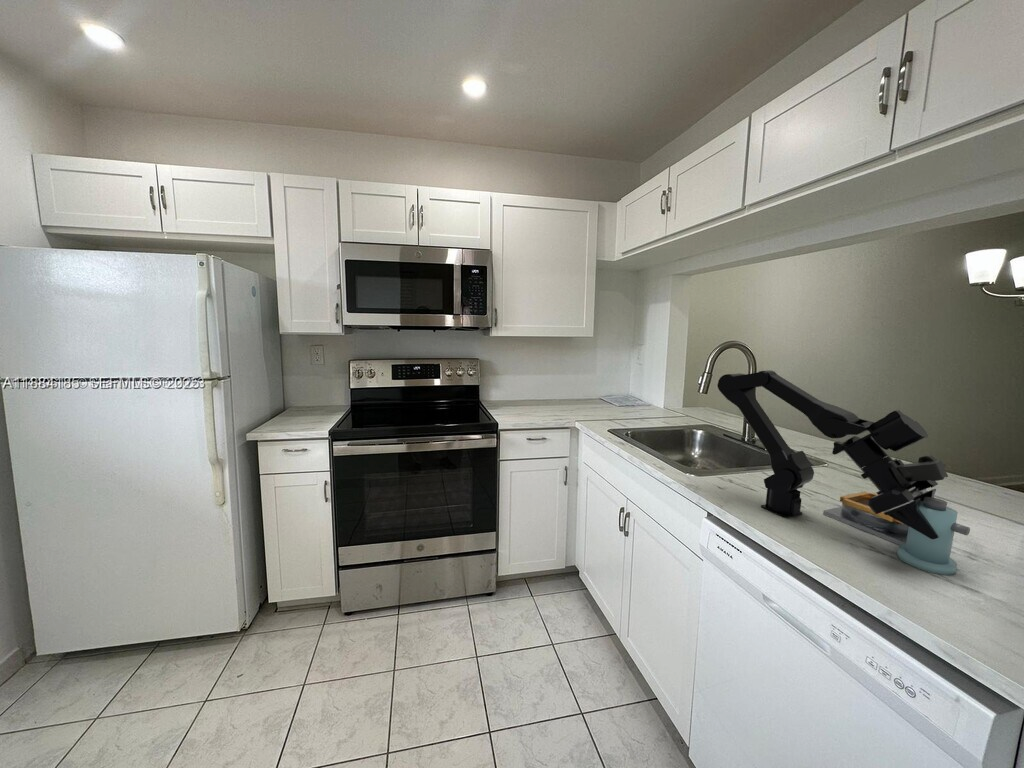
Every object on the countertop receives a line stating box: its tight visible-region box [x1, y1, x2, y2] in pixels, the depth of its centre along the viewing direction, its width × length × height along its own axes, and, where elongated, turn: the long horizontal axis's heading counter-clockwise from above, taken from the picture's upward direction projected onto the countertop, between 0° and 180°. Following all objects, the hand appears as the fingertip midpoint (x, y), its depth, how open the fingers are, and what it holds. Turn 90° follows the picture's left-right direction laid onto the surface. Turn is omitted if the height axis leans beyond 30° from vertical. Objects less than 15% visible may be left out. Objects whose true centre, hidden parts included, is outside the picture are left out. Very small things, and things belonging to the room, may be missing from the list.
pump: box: [896, 497, 971, 576], centre depth 76 cm, size 9×8×13 cm
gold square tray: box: [822, 491, 909, 546], centre depth 93 cm, size 16×14×5 cm
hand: (940, 534), depth 76 cm, fingers closed on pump, 6 cm apart
